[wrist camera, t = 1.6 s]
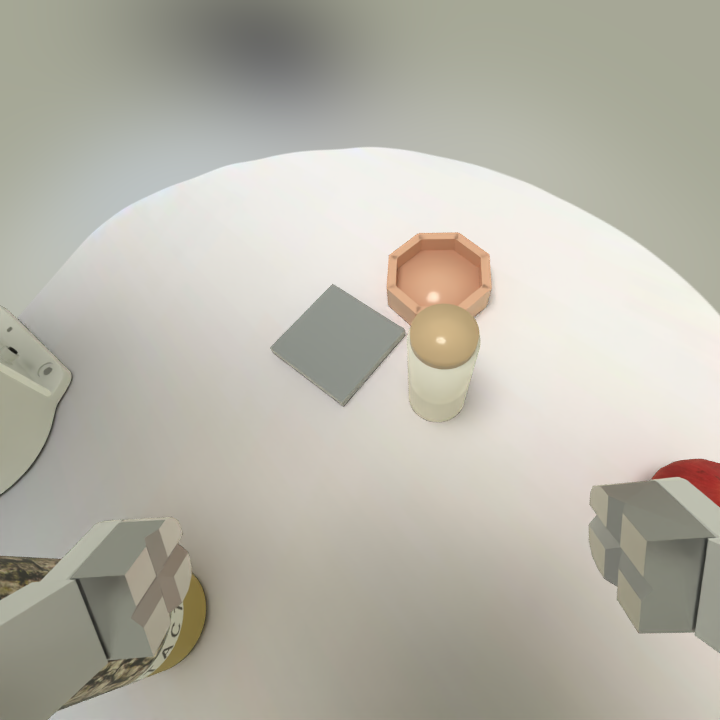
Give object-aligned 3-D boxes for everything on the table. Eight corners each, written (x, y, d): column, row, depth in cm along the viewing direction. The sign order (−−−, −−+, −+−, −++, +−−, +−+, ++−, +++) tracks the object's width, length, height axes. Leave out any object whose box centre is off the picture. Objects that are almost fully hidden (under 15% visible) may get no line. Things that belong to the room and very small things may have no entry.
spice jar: (397, 394, 38) (391, 331, 28) (436, 361, 39) (444, 288, 29) (436, 433, 36) (444, 380, 26) (476, 397, 37) (498, 332, 27)
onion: (698, 470, 33) (777, 440, 25) (730, 553, 30) (828, 546, 23) (618, 474, 33) (673, 446, 26) (642, 556, 30) (712, 550, 23)
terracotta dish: (370, 289, 43) (367, 271, 41) (437, 237, 45) (438, 217, 43) (436, 348, 40) (438, 333, 37) (506, 289, 42) (512, 271, 39)
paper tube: (103, 628, 32) (-582, 739, 10) (167, 546, 34) (-281, 489, 12) (163, 695, 30) (-555, 1029, 8) (228, 602, 32) (-188, 658, 10)
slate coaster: (273, 352, 41) (270, 347, 40) (334, 289, 44) (332, 283, 43) (343, 406, 38) (341, 402, 37) (405, 335, 41) (405, 329, 40)
